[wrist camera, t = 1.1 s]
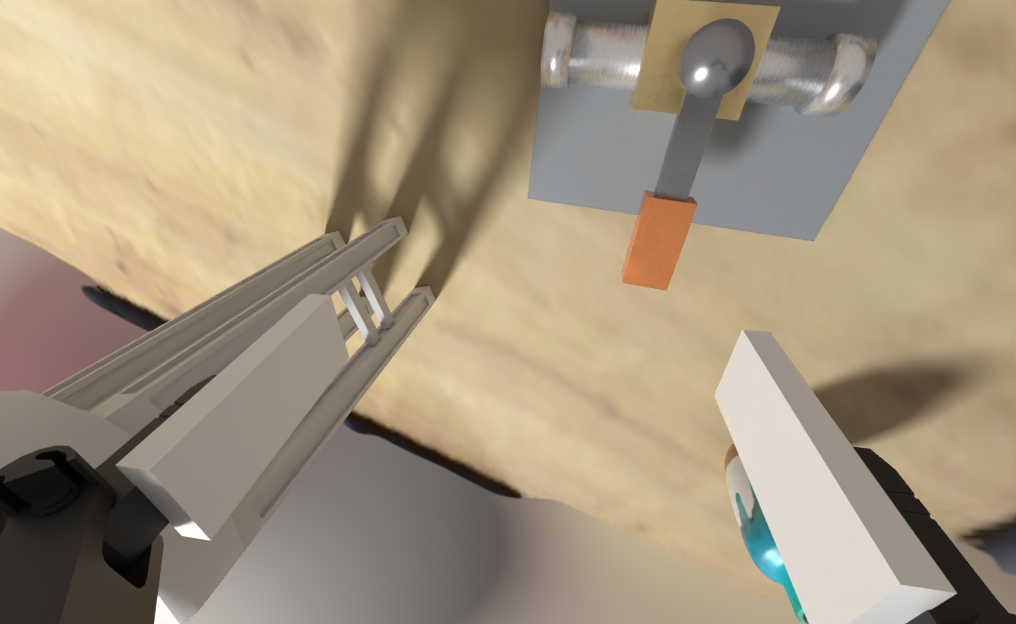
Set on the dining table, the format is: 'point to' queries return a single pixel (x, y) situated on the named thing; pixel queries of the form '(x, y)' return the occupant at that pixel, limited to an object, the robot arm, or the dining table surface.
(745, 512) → the vase
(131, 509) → the robot arm
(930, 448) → the dining table surface
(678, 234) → the valve lever
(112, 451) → the stool
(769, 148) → the valve board
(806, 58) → the valve pipe
